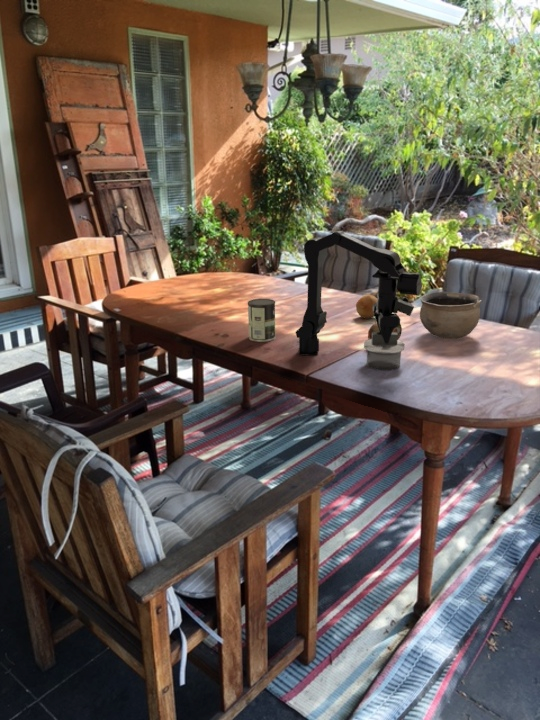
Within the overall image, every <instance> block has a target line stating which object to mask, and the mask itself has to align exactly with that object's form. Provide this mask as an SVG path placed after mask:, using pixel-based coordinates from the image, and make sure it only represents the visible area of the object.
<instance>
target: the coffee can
mask: <svg viewBox="0 0 540 720" xmlns="http://www.w3.org/2000/svg"><path fill="white" fill-rule="evenodd" d="M247 307H248V309H247V314H248V339H249V340H250V341H252V342H257V343H259V342H260V343H263V342H264V343H265V342H270V341H274V340H276V300H274V299H271V298H255V299H250V300H248V301H247Z"/></svg>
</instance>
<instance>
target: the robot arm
mask: <svg viewBox="0 0 540 720" xmlns="http://www.w3.org/2000/svg"><path fill="white" fill-rule="evenodd" d="M334 246H338V247H340V248H343V249H345V250H347V251H349V252H351V253H353V254H355V255H357V256H359V257H361V258H364V259H365V260H368V261H369V262H370V263H371V264H372V265H373V267H374V268H376V269H377V270H376V272H375V273H373V275H372V276H371V277H372V278H373V279H378V287H377V293H376V298H377V300H378V302H376V303H375V304H373V313H374V319H375V322H376V323H377V325H378V328H379V331H380V332H381V333H382V336H383V339H384V342H385V344H388V343H389V340H390V337H391V334H392V331H393V329H394V328H396V327H398V326H399V325H400V324H401V318H400V317H399V315H398V314H397V313H398V312H399V313H401V314H405V315H406V316H408V317H411V316H412V313H413V311H414V308H415V306H414V305H413V304H412V303H411V302H409V298H407V297H406V296H403V297H401V298H399V297H398V296H397V292H398V293H400V294H401V295H411V296H418V297H419V296H420V294H421V291H422V289H423V288H422V287H423V281H422V277H421V272H407V270H406V268H405V267H404V266H403V264H402V262H401V258H400V254H399V253H397V252H396V251H393V250H390V249H386V248H379V247H375V246H373V245H371V244H369V243H366V242H365V241H363V240H360V239H358V238H356V237H354V236H351V235H349V234H347V233H345V232H344V231H343V230H337V231H334V232H332V233H331V234H328V235H325V236H324V237H318V236H317V237H315V238H311V239H309V240H307V241H306V242H305V243H304V245H303V252H304V259H305V262H306V263H307V267H308V268H307V269H308V271H307V301H306V302H307V303H306V305H307V306H306V309H305V312H304V315H303V318H302V324H301V326H300V327H299V328H298V329H297V330H296V331H295V334H296V338H298V355H300V356H306V355H307V356H309V355H310V356H313V355H315V356H316V355H318V353H319V351H320V339H319V338H318V334H320V332H321V330H322V329H324V327H325V325H326V323H327V315H328V314H327V312H328V311H324V310H323V308H322V285H323V283H322V282H323V281H322V280H323V265H324V262H325V260H326V257H327V253H328V249H330V248H331V247H334Z"/></svg>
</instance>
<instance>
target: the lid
mask: <svg viewBox="0 0 540 720" xmlns="http://www.w3.org/2000/svg"><path fill="white" fill-rule="evenodd" d="M397 339H398V334H397V332H392V334H391V337H390V340H389V343H388V344H385V342H384V339H383V336H382V333H381V332H372V339H369V340H368V339H366V340H365V341H364V342H363V348H364V349H365V350H366V351H367V350H368V351H371V352H375V353H382V354H392V353H398V352H401V353H402V351H404V350H405V343H404V341H401V340H400V339H398V340H397Z"/></svg>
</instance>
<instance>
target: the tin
mask: <svg viewBox="0 0 540 720" xmlns="http://www.w3.org/2000/svg"><path fill="white" fill-rule="evenodd" d="M402 329H403V328H402V324H401V323H400V325H399V326H398V327H396V328H394V329H393V331H392V332H397V334H398V339H397V340H400V337H401V335H402V331H403V330H402ZM372 332H380V331H379V328H378V325H377V322H376V323H373V324H372V325H371V326H370V328H369V329H368V332H367V333H368V334H367V340H369V339H372Z"/></svg>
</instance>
